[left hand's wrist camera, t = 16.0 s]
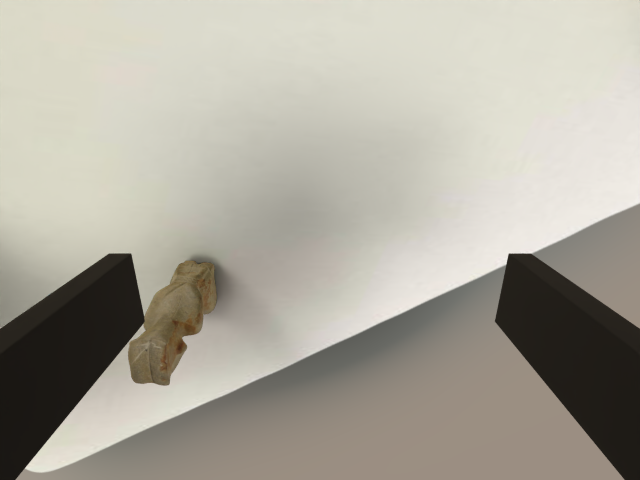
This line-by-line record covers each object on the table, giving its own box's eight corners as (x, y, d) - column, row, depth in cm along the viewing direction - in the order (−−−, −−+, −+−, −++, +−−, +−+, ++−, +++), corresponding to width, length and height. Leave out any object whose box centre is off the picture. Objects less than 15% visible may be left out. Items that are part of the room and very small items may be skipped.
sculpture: (176, 301, 46) (112, 387, 31) (179, 250, 43) (110, 319, 29) (222, 308, 46) (178, 397, 32) (226, 258, 43) (182, 330, 29)
